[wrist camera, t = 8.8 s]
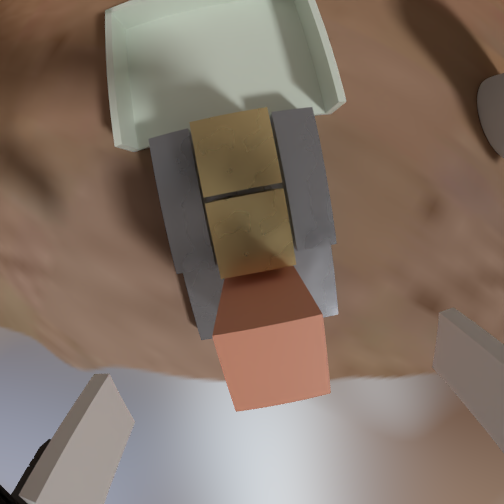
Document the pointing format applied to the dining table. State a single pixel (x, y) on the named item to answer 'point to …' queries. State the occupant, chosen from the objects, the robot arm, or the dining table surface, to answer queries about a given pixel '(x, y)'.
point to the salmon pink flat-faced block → (270, 340)
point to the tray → (213, 63)
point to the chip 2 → (251, 232)
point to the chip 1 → (235, 152)
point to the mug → (492, 111)
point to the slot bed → (293, 182)
